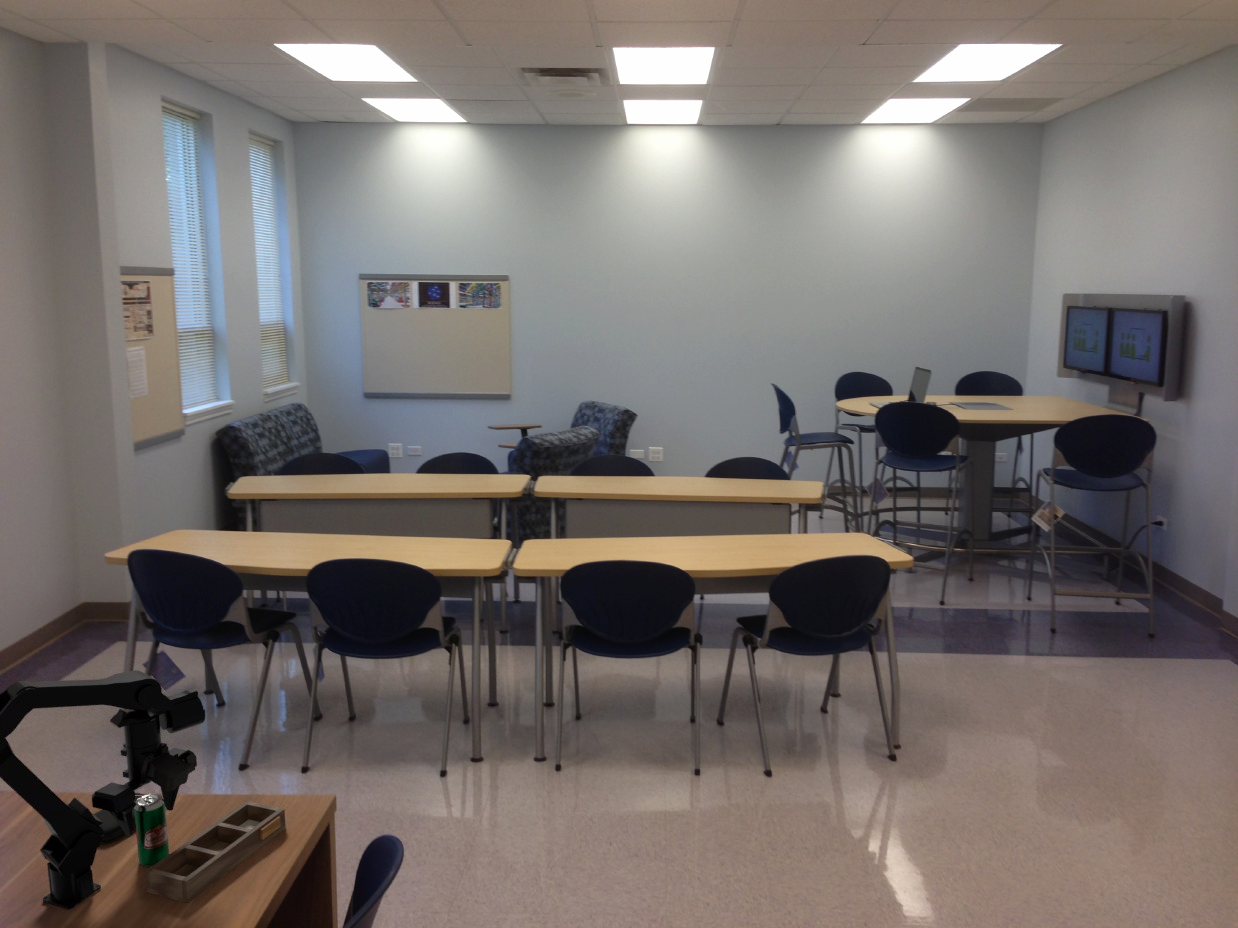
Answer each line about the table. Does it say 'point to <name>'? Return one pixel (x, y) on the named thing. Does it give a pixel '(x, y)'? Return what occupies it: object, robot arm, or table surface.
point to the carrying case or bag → (112, 824)
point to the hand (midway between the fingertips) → (150, 822)
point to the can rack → (214, 851)
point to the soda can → (151, 829)
